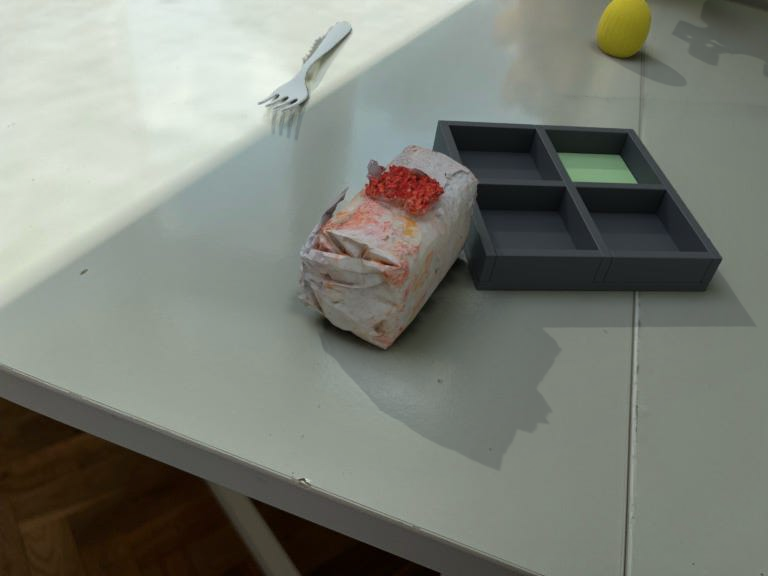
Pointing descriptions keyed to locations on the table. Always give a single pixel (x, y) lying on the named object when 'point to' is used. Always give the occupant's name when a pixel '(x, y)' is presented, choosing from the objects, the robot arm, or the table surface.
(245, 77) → the table surface
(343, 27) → the fork
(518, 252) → the dark grey compartment tray
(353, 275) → the food item
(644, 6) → the lemon
